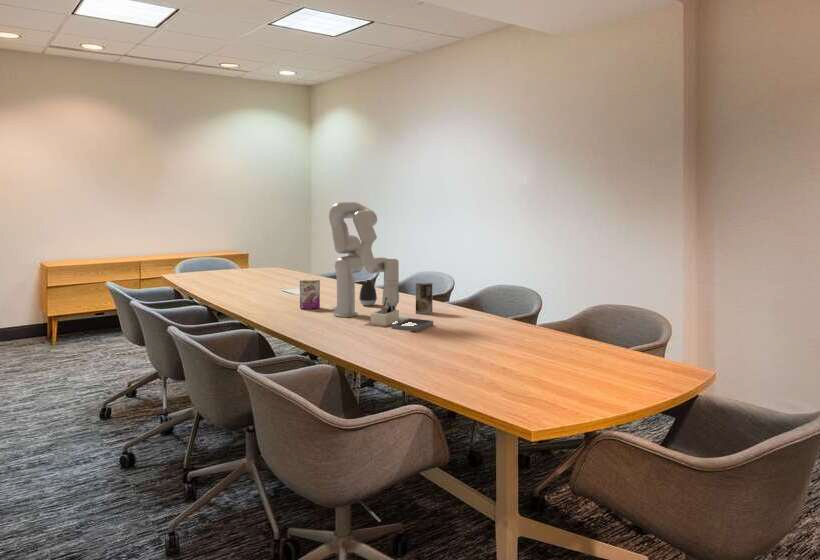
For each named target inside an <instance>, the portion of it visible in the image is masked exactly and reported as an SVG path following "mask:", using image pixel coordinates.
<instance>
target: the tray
mask: <svg viewBox="0 0 820 560" xmlns="http://www.w3.org/2000/svg"><path fill="white" fill-rule="evenodd" d="M400 321H401V322H398V323H396V324H393V325H391V326H390V327H391V330H392V329H394V330H401V331H409V332H410V333H419V332H421V331H423V330H426V329H428V328H429V326H430V327H432V326H434V320H431V319H419V318H412V317H411V318H409V317H408V318H407V319H404V320H400ZM408 322H412V323H416V324H417V325H414V326H401V325H402V324H405V323H408ZM431 325H432V326H431ZM427 327H428V328H427ZM425 328H426V329H425Z"/></svg>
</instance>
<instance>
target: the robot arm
mask: <svg viewBox="0 0 820 560" xmlns="http://www.w3.org/2000/svg"><path fill="white" fill-rule="evenodd" d="M345 219H352V221H353V224H354V227H355V230H356V232H357V234H358V237H357V236H356V235H350V232H349V228H348V225H347V222H346V221H345ZM328 220H329V223H330V227H331V233H332V239H333V247H334V251H335V252H336V253H337V254H341V255H345V254H347V255H346V256H340V257H339V258H337V259H336V261H335V264H334V271H335V274H336V306H332V307H331V311H335V312H333V316H335V317H336V318H337V317H339V318H352V317H357V316H358V315H359V313H358V311H356V291H355V289H356V287H355V286H356V285H355V284H356V283H355V278H354V276H353V275H354V274H357V273H360V272H361V271H362V270H363V269H365V271H366V272H367V273H369V274H379V273H383V289H382V301H381V304H382V306H383V307H384V308H385V309H387V313H390V312H392V311H393V310H397V309H396V308H397V306H398V304H399V301H400V292H399V286H400V285H399V284H400V283H399V278H400V277H399V276H400V274H399V271H400V270H399V268H400V267H399V265H400V263H399V260H398V259H397V258H386V257H374V254H373V251H372V246H373V243H374V242H375V241H376V240H377V233H376V231H375V229H374V228H375V227H374V226H375V225H376V224H377V222H378V217H377V213H376V212H375V211H373V210H371V209H370V208H368V207H366V206H365V205H363V204H361V203H358V202H352V201H339V202H337V203H334V204H333V205H332V206H331V208H330V209H329V213H328Z"/></svg>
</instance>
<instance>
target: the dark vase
mask: <svg viewBox="0 0 820 560" xmlns="http://www.w3.org/2000/svg"><path fill="white" fill-rule="evenodd" d="M358 283H359V284H361V287H360V291H359V297H358V298H359V301H360V304H361V305H363V306H364V305H365V307H372V306H374V305H375V304H376V301H377V300H378V298H377V290H376V287H375V285H374V283H373V281H372V280H371V279H365V280H364V281H361V280H359V282H358ZM371 305H372V306H371Z"/></svg>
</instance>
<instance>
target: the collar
mask: <svg viewBox="0 0 820 560" xmlns="http://www.w3.org/2000/svg"><path fill="white" fill-rule="evenodd" d="M398 320H399V321H400V311H399V309H396V310H393V311H392V312H390V313H387V309H385V314H381V309H380V310H376V311H374V312H370V323H371V324H373V325H382V326H387V325H389V324H392V323H393V322H395V321H398Z"/></svg>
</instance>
